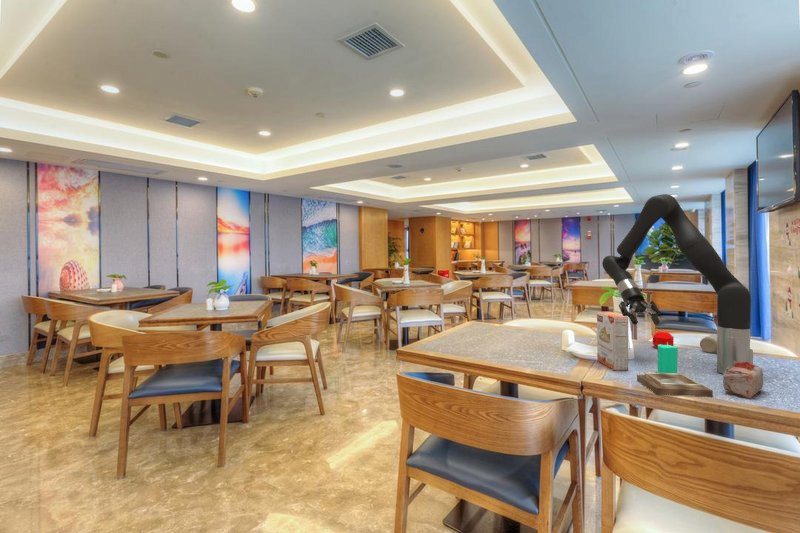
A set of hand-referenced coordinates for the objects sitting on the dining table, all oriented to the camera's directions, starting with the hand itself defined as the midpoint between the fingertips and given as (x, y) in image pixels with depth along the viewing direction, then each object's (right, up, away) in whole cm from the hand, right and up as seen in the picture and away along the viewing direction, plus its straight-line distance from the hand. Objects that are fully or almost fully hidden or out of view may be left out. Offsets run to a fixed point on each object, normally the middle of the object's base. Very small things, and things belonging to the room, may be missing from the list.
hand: (646, 323), depth 155 cm
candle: (0, -17, -11) cm, 21 cm away
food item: (+12, -18, -30) cm, 37 cm away
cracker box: (-14, -17, 0) cm, 22 cm away
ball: (+25, -16, +27) cm, 40 cm away
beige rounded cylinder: (+43, -16, +19) cm, 50 cm away
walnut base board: (-8, -18, -26) cm, 32 cm away
